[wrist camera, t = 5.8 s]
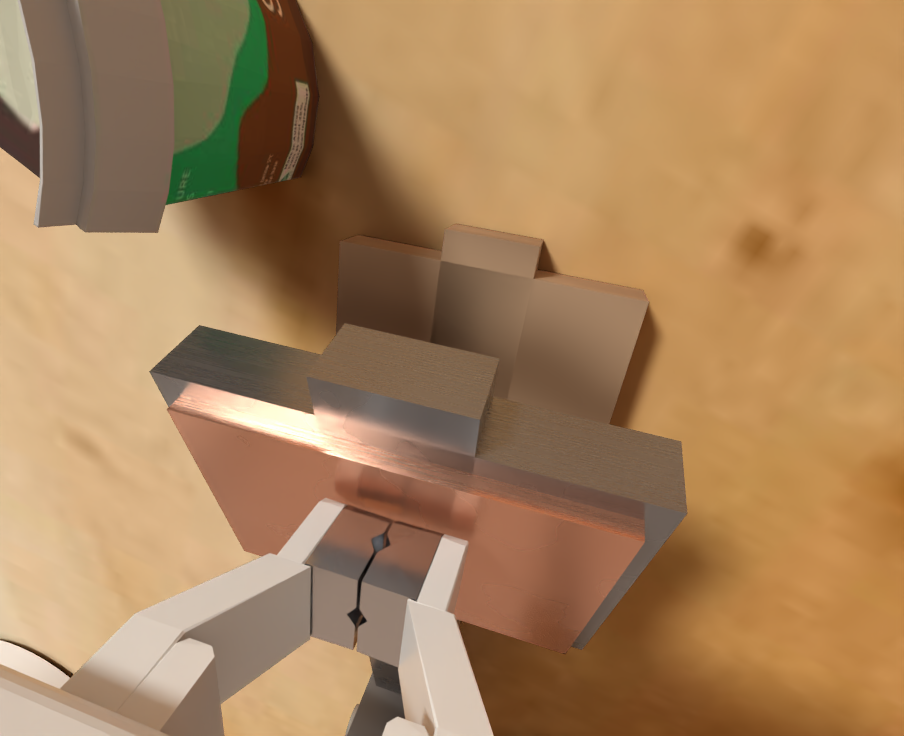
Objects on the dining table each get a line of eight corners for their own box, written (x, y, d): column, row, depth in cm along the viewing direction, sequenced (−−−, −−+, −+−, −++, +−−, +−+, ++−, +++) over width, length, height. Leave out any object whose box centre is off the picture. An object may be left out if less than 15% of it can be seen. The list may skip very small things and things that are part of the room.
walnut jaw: (505, 722, 26) (487, 854, 21) (333, 661, 27) (279, 770, 22) (652, 260, 15) (687, 305, 10) (360, 206, 17) (269, 222, 12)
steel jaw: (521, 696, 22) (513, 746, 21) (320, 627, 23) (301, 670, 22) (704, 405, 8) (716, 502, 7) (183, 286, 10) (110, 345, 8)
